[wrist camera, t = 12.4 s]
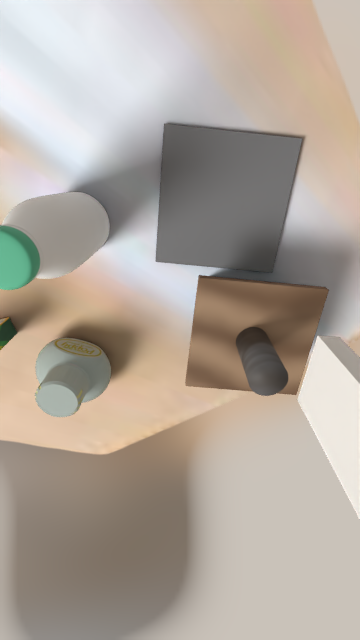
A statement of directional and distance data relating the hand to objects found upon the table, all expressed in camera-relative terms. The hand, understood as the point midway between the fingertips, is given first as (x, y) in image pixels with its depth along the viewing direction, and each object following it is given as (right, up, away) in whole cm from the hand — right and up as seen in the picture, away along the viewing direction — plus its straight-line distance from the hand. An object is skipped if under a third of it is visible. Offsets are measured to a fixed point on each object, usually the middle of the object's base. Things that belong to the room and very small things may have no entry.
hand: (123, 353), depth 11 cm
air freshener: (-14, -5, +39) cm, 41 cm away
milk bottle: (-11, +14, +30) cm, 35 cm away
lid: (+11, -1, +29) cm, 31 cm away
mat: (+7, +16, +29) cm, 34 cm away
